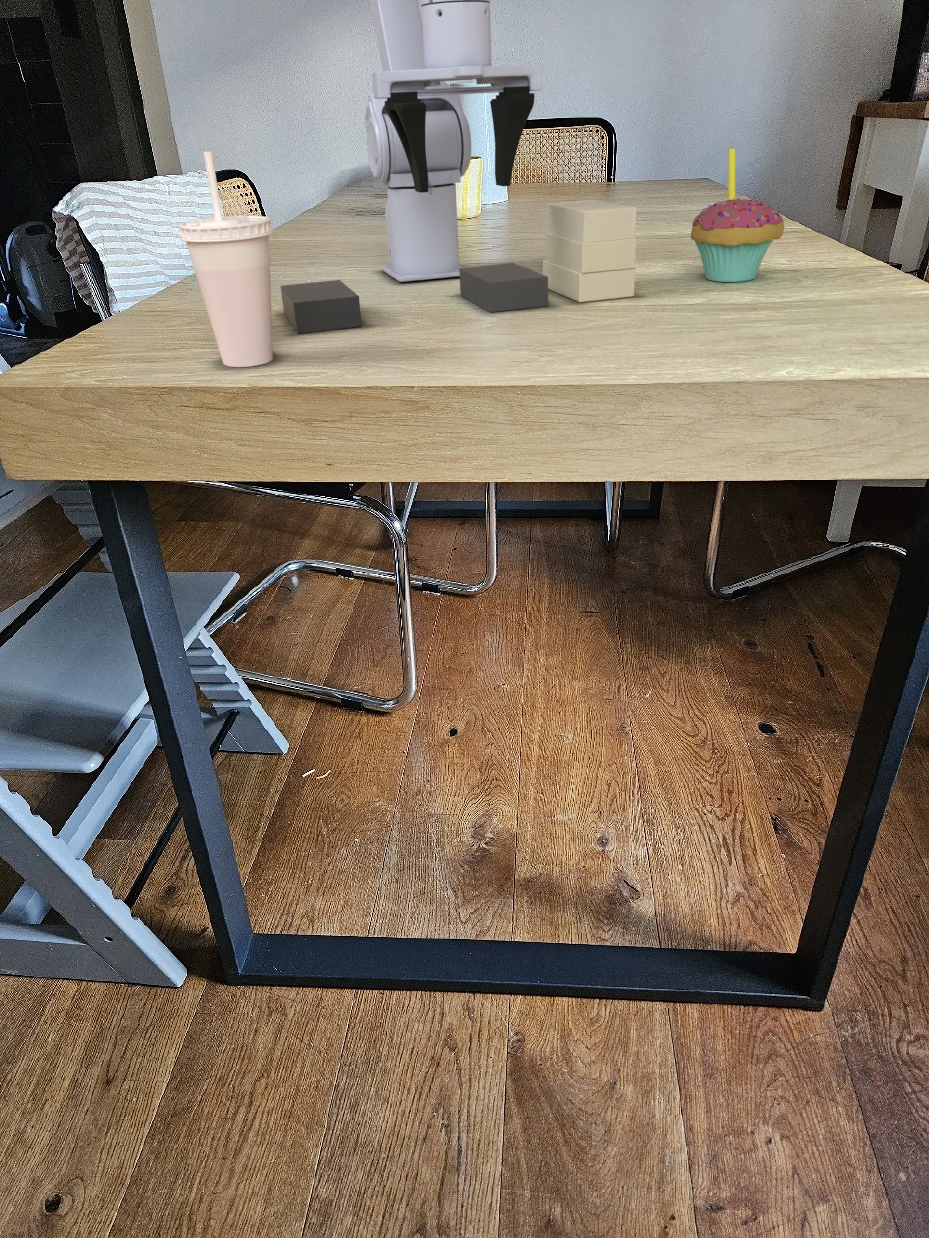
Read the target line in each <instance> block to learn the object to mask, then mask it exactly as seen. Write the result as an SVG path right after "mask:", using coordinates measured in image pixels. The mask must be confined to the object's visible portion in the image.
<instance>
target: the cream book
mask: <svg viewBox="0 0 929 1238" xmlns="http://www.w3.org/2000/svg"><path fill="white" fill-rule="evenodd" d="M637 212H638V207H637V206H632V205H626V204H620V203H614V202H609V201H603V200H599V199H585V200H583V199H582V200H573V201H559V202H547V203H545V233H551V234H555V235H558V236H562V237H565V238H569V239H572V240H576V241H579V242H583V243H587V242H598V241H609V240H619V239H630V238H636V235H637V234H636V232H637V231H636V230H637V214H638V213H637Z"/></svg>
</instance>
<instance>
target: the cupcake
mask: <svg viewBox="0 0 929 1238" xmlns="http://www.w3.org/2000/svg"><path fill="white" fill-rule="evenodd" d="M729 142H730V143H729V146H730V147H729V149H728V151H727V178H728V179H727V185H728V186H727V187H728V188H727V199H725V200H723V201H716V202H715V203H713V204H712V205H711V204H709V206H707V207H706V208H705V207H704V208H703V209H702V211H700V212H699V213H698V215H696V216H695V217H694V220H692V224H691V226H692V227H691V232H690V239H691V240H692V241H694V243H695V245H696V247H697V250H698V252H699V255H700V256H699V257H700V259H701V263H702V267H703V272H704V277H705V279H706V280H709V281H712V282H721V283H742V282H747V281H751V280H754V279H755V278H756V277H757V274H758V271H759V268H760V266H761V264H762V261H763V259H764V257H765V255H766V253H767V251H768V250H769V248H770V246H771V244H772V243H773V241H774V240H776V241H777V240H780V239H781V238H782V236H783V235H784V230H785V222H784V218H783V217H782V215H780V213H779V211H777V210H775V209H774V208H773V207H772V206H771V205H770V204H767V203H766V202H763V201H757V200H755V199H753V198H751V199H746V198H742V199H741V198H736V159H737V158H736V155H737V154H736V148H734V145H733V139H729Z"/></svg>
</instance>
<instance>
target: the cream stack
mask: <svg viewBox="0 0 929 1238" xmlns="http://www.w3.org/2000/svg"><path fill="white" fill-rule="evenodd" d="M636 253H637V237H635V238H630V239H619V240H609V241H598V242H587V243H583V242H579V241H576V240H572V239H569V238H565V237H562V236H558V235H555V234H551V233H548V232H545V259H543V260H542V275H545V276H547V277H548V291H552V292H554V293H557V294H559V295H561V296H564V297H566V298H568V299H571V300H573V301H574V302H577V303H587V302H594V301H595V302H597V301H604V300H606V301H607V300H615V299H622V298H632V297H635V284H636V257H637V256H636V255H637V254H636Z"/></svg>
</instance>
